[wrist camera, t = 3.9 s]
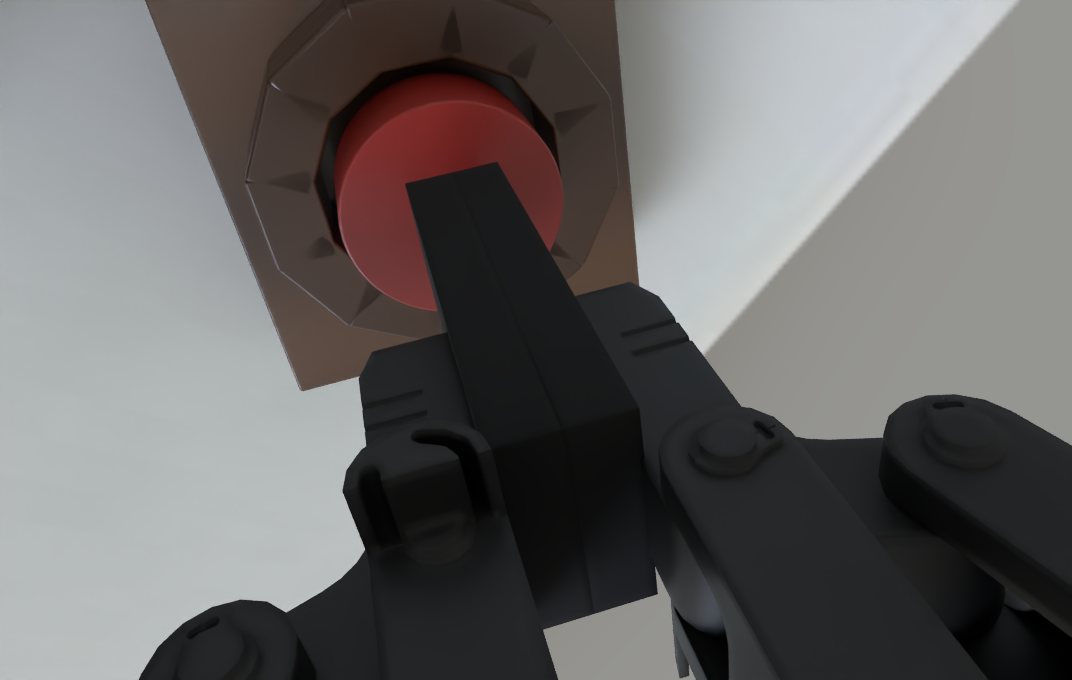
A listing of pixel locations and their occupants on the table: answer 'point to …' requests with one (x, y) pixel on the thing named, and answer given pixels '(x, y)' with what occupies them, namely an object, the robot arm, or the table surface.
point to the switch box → (334, 98)
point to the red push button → (431, 171)
